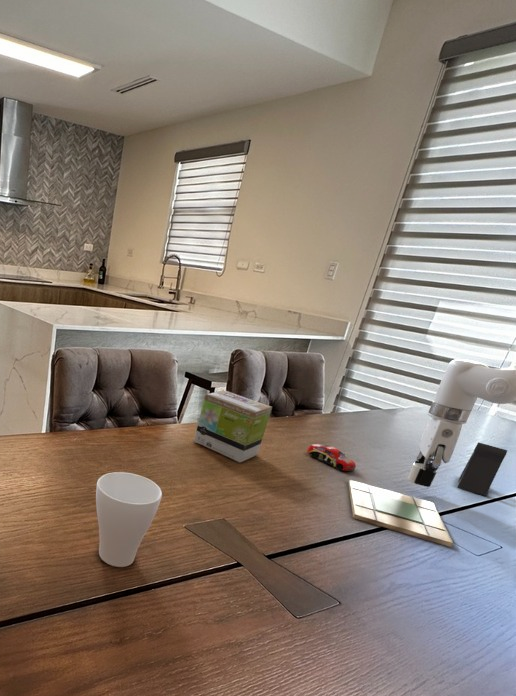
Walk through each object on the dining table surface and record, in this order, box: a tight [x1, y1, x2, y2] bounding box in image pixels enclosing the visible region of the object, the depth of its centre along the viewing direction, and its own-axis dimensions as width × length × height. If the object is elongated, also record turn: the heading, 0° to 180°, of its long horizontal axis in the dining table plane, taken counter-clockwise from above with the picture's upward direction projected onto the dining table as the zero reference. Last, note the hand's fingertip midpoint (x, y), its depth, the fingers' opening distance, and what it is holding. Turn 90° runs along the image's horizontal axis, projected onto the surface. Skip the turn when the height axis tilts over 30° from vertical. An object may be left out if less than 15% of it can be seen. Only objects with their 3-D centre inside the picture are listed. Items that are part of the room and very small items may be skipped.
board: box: [347, 479, 454, 548], centre depth 108 cm, size 18×20×1 cm
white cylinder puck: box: [407, 462, 438, 487], centre depth 118 cm, size 5×5×4 cm
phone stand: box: [457, 442, 508, 497], centre depth 124 cm, size 9×6×12 cm, turn 138°
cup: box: [95, 471, 163, 568], centre depth 78 cm, size 10×10×14 cm
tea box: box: [193, 389, 273, 464], centre depth 128 cm, size 15×10×15 cm, turn 43°
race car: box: [306, 443, 357, 472], centre depth 131 cm, size 13×5×4 cm, turn 26°
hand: (419, 479), depth 118 cm, fingers closed on white cylinder puck, 5 cm apart
